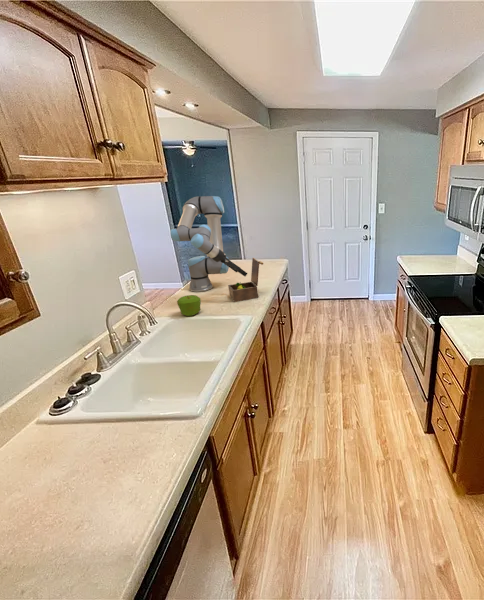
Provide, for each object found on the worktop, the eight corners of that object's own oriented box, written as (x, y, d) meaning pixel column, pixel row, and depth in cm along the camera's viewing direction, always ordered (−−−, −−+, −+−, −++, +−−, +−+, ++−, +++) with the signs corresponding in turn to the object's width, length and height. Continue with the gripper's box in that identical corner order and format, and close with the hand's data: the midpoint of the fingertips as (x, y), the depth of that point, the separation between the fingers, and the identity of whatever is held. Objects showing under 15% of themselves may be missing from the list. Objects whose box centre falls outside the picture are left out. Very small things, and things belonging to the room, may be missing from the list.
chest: (234, 302, 212) (232, 290, 209) (229, 296, 223) (228, 285, 220) (258, 297, 220) (257, 286, 217) (252, 292, 231) (251, 281, 228)
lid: (258, 261, 212) (265, 262, 215) (252, 257, 223) (259, 258, 226) (256, 286, 217) (263, 286, 219) (250, 280, 227) (257, 281, 230)
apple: (204, 314, 192) (201, 296, 188) (181, 319, 186) (177, 301, 182) (200, 308, 202) (197, 291, 198) (178, 312, 195) (174, 294, 191)
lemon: (236, 295, 222) (234, 281, 219) (245, 293, 225) (243, 279, 221) (237, 298, 217) (236, 283, 213) (247, 296, 219) (245, 282, 216)
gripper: (204, 255, 210) (230, 273, 224) (219, 262, 192) (246, 281, 207) (211, 245, 211) (237, 264, 226) (226, 252, 194) (253, 272, 208)
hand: (241, 272), depth 216 cm, fingers open, 13 cm apart
